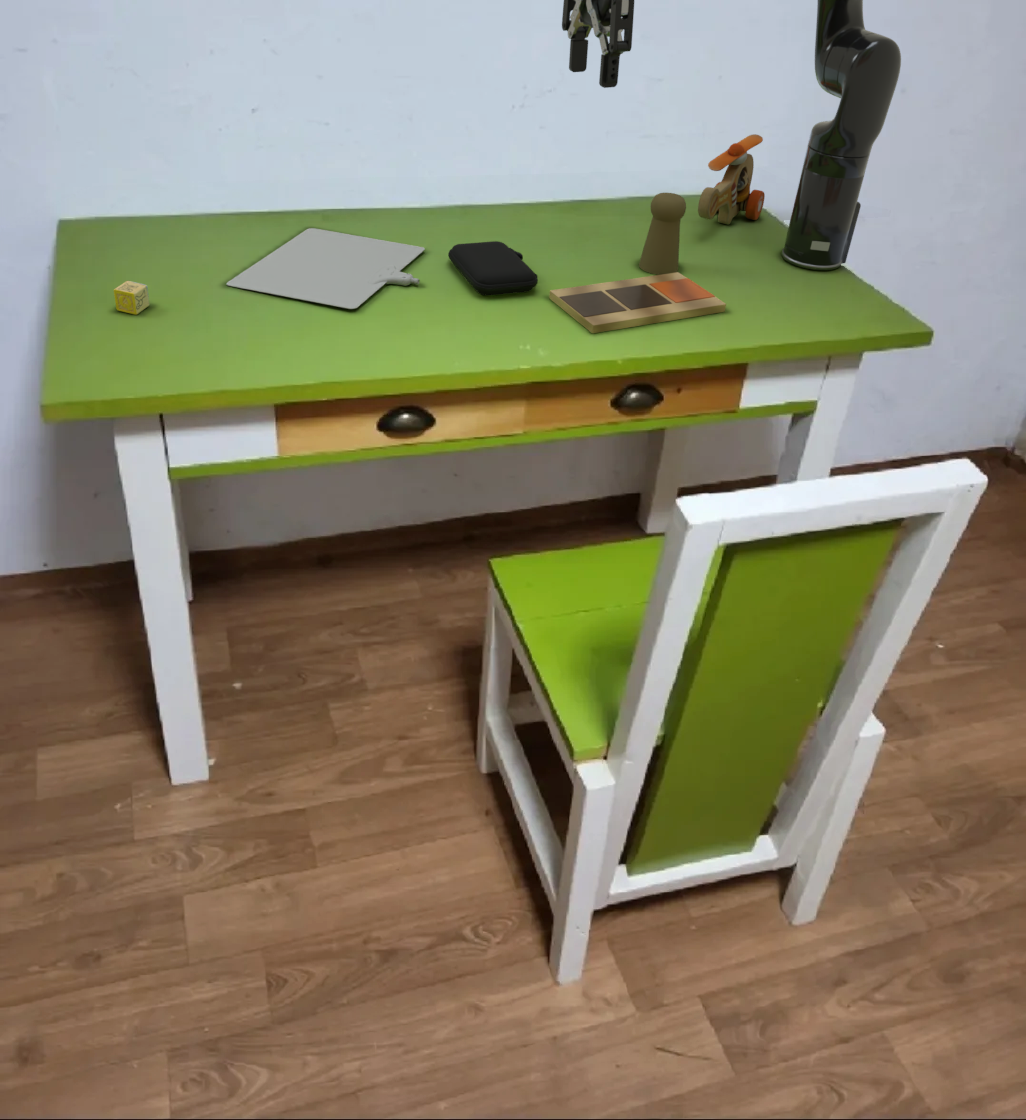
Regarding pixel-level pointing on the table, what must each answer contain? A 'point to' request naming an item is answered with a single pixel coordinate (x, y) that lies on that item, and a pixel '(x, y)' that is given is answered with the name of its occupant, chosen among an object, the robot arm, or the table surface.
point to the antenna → (330, 268)
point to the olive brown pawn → (663, 235)
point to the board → (636, 302)
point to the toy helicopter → (733, 185)
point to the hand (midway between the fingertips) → (592, 78)
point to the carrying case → (493, 268)
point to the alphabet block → (131, 297)
